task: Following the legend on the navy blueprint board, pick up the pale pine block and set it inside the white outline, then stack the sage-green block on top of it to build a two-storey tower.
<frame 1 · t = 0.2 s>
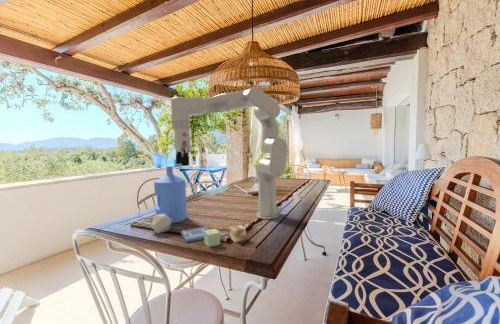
hand: (182, 164, 109), 31 cm above the table, tool pointing down, fingers open, 9 cm apart
pine block: (237, 239, 103), on the table
water jug: (171, 219, 129), on the table
green block: (212, 243, 99), on the table
blueprint board: (197, 235, 108), on the table
die: (161, 231, 113), on the table
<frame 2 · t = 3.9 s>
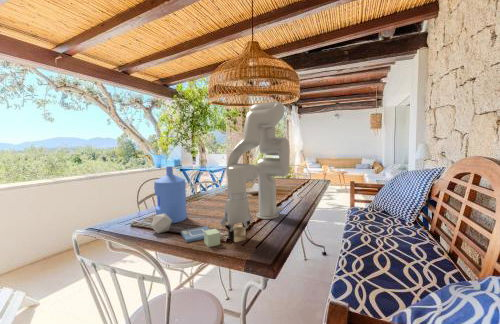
hand: (237, 237, 103), 0 cm above the table, tool pointing down, fingers closed on pine block, 5 cm apart
pine block: (237, 238, 103), on the table, touching gripper
everything else where it was.
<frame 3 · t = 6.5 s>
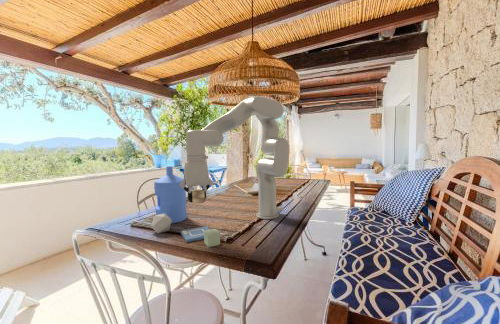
hand: (197, 200, 106), 16 cm above the table, tool pointing down, fingers closed on pine block, 4 cm apart
pine block: (197, 201, 106), point 15 cm above the table, touching gripper
everything else where it was.
when the fingers open (3 cm above the table, at t = 9.3 s): pine block drops 1 cm, resting on blueprint board.
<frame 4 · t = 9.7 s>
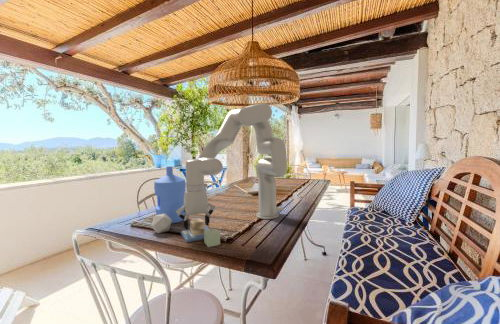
hand: (196, 226, 107), 4 cm above the table, tool pointing down, fingers open, 8 cm apart
pine block: (197, 232, 108), point 1 cm above the table, touching blueprint board
everything else where it was.
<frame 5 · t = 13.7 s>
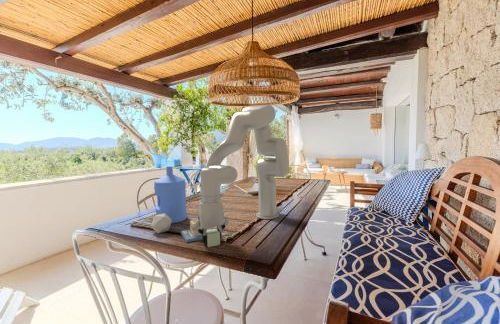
hand: (212, 242, 99), 0 cm above the table, tool pointing down, fingers closed on green block, 4 cm apart
green block: (212, 243, 99), on the table, touching gripper
everything else where it was.
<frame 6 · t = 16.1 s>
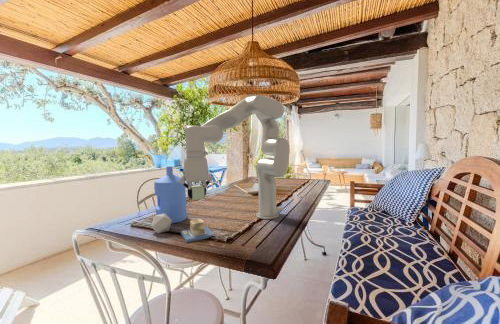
hand: (197, 196, 105), 17 cm above the table, tool pointing down, fingers closed on green block, 4 cm apart
green block: (197, 198, 105), point 17 cm above the table, touching gripper
everything else where it was.
when the fingers open (8 cm above the table, at t = 18.8 s): green block drops 1 cm, resting on pine block.
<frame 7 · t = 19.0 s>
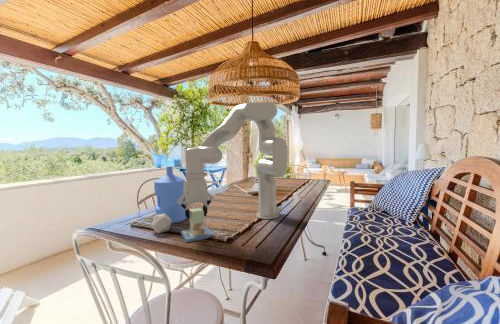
hand: (196, 216, 107), 8 cm above the table, tool pointing down, fingers open, 6 cm apart
pine block: (197, 232, 108), point 1 cm above the table, touching blueprint board, green block
green block: (196, 221, 107), point 6 cm above the table, touching pine block
everything else where it was.
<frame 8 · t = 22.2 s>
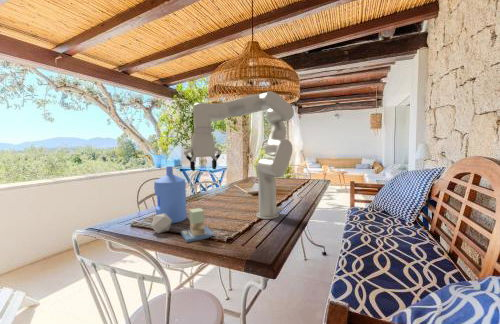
hand: (203, 169, 111), 28 cm above the table, tool pointing down, fingers open, 9 cm apart
nothing on the table moved.
at the end: pine block 0.1 cm off-centre on the blueprint board, point 1.2 cm above the blueprint board's base; green block 0.0 cm off-centre on the pine block, point 5.0 cm above the pine block's base; green block tilted 0° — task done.
